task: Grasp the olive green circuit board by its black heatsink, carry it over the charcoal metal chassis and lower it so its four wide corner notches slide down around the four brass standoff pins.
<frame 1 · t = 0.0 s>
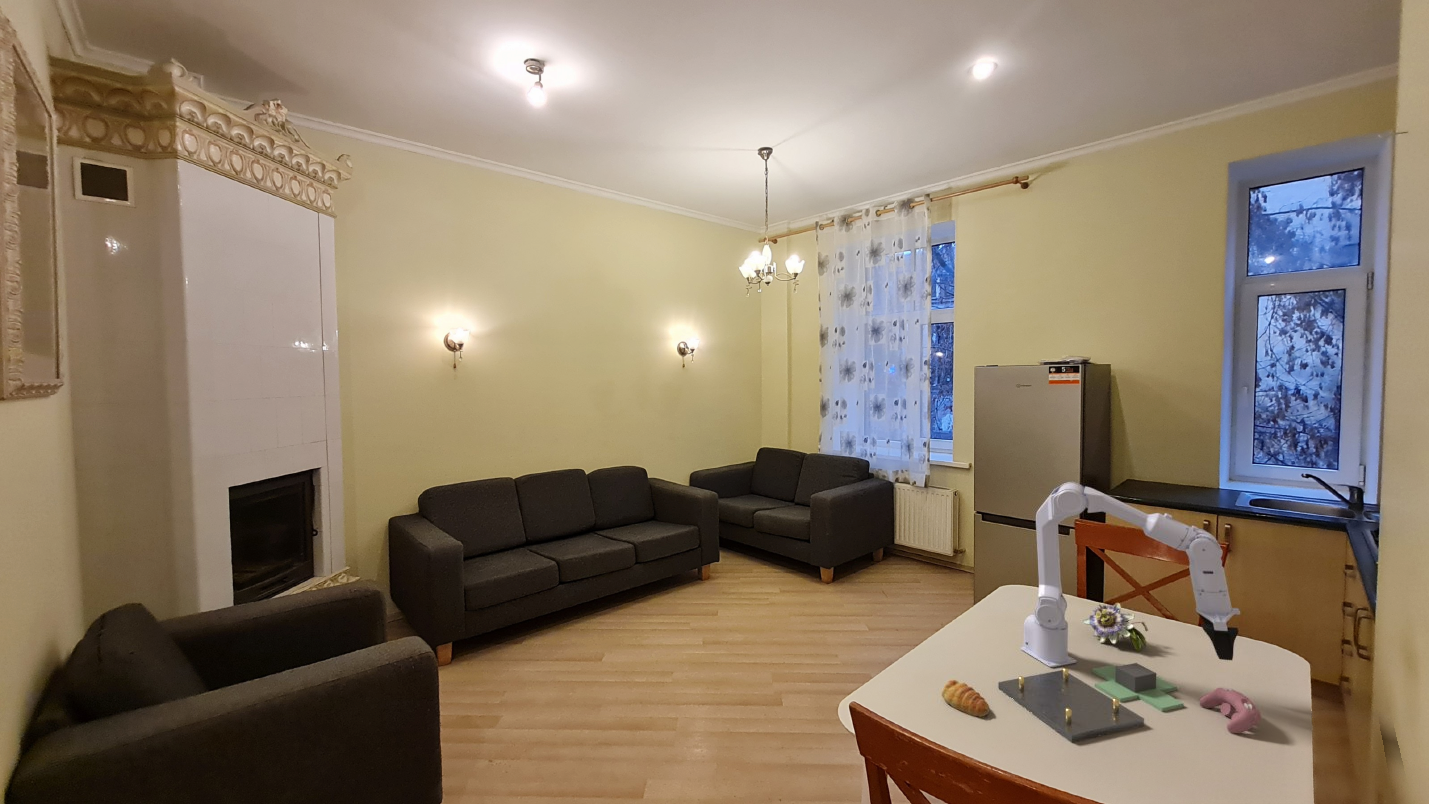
hand: (1222, 651, 119), 11 cm above the table, tool pointing down, fingers open, 7 cm apart
pastry: (964, 705, 120), on the table
chassis: (1066, 706, 118), on the table
passion flower: (1115, 641, 146), on the table
video game controller: (1229, 721, 113), on the table
board: (1135, 688, 124), on the table
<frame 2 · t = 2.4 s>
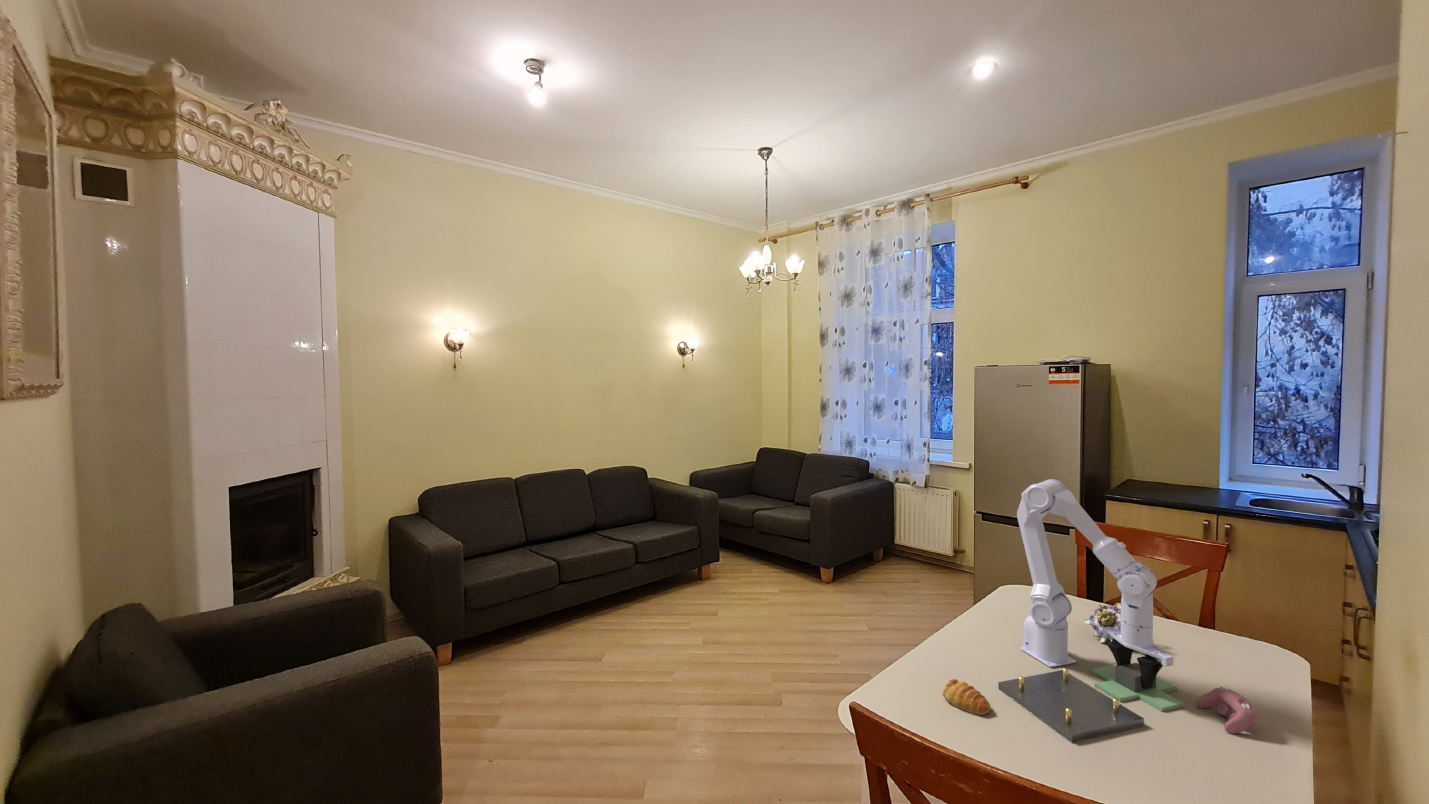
hand: (1135, 681, 124), 2 cm above the table, tool pointing down, fingers closed on board, 4 cm apart
board: (1135, 688, 124), on the table, touching gripper
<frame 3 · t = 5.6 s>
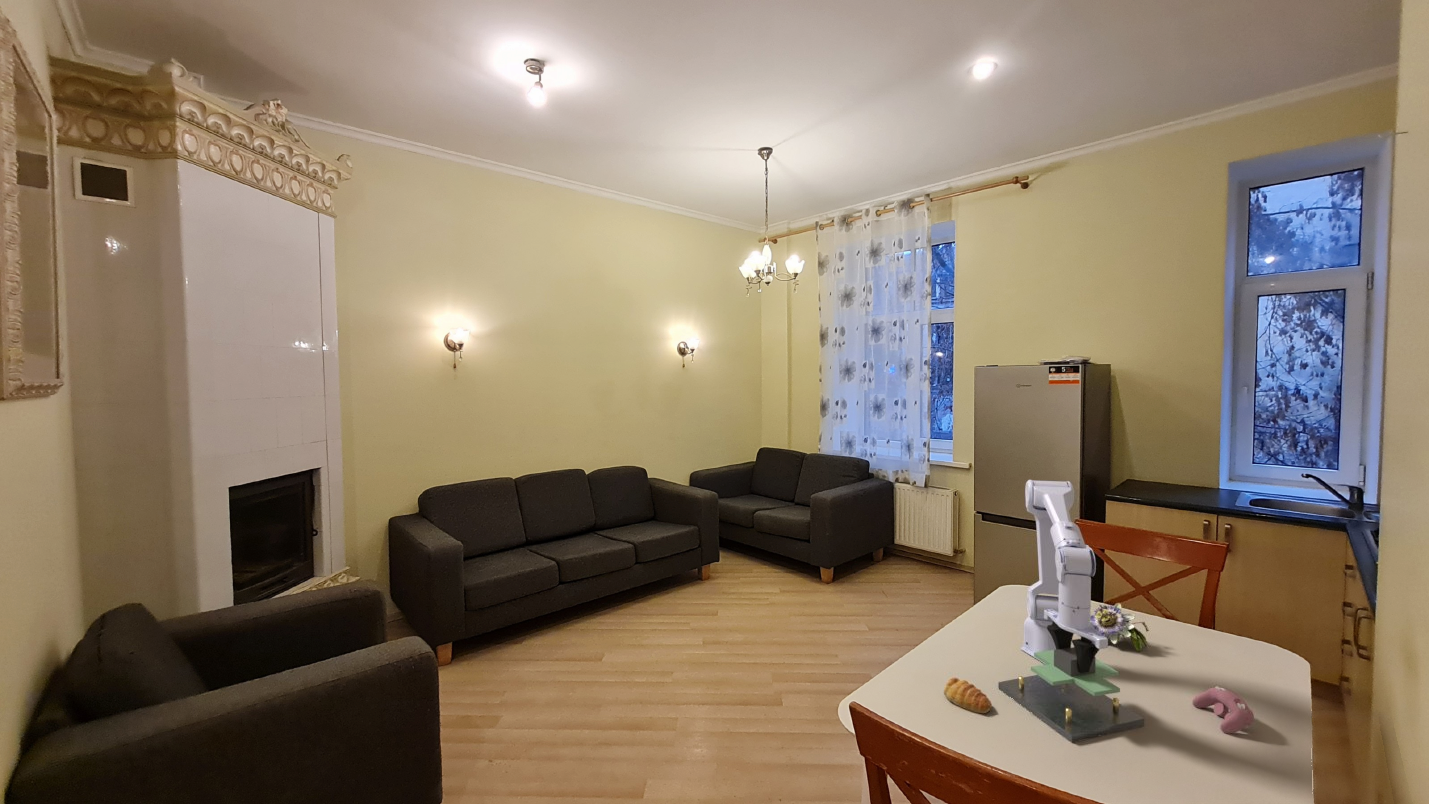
hand: (1073, 665, 118), 9 cm above the table, tool pointing down, fingers closed on board, 4 cm apart
board: (1074, 673, 119), point 7 cm above the table, touching gripper
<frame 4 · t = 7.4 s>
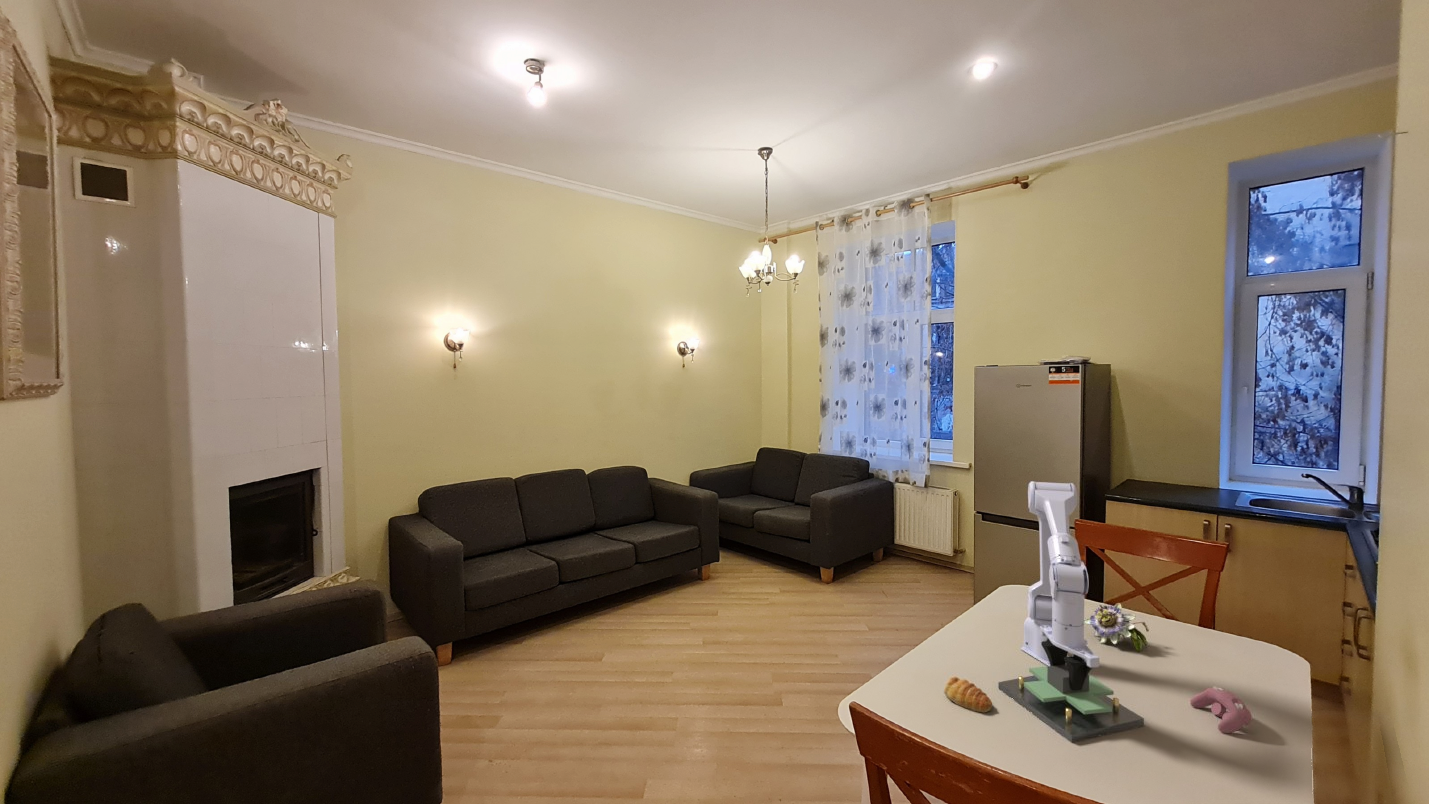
hand: (1067, 682, 118), 5 cm above the table, tool pointing down, fingers closed on board, 4 cm apart
board: (1067, 690, 118), point 3 cm above the table, touching gripper
when the fingers open (4 cm above the table, at t = 9.1 s): board stays where it is, resting on chassis.
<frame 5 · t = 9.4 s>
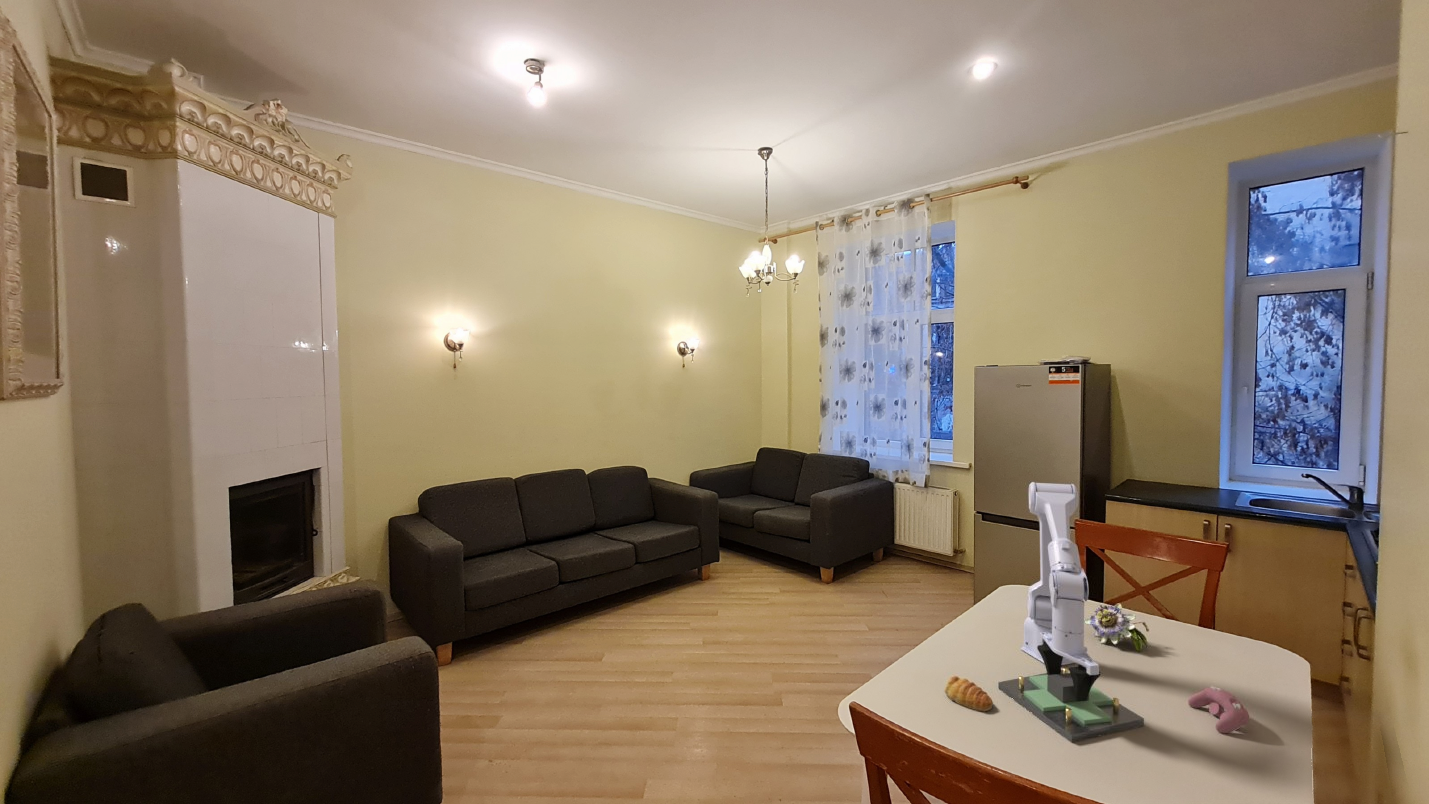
hand: (1067, 689, 118), 4 cm above the table, tool pointing down, fingers open, 7 cm apart
board: (1067, 699, 118), point 1 cm above the table, touching chassis
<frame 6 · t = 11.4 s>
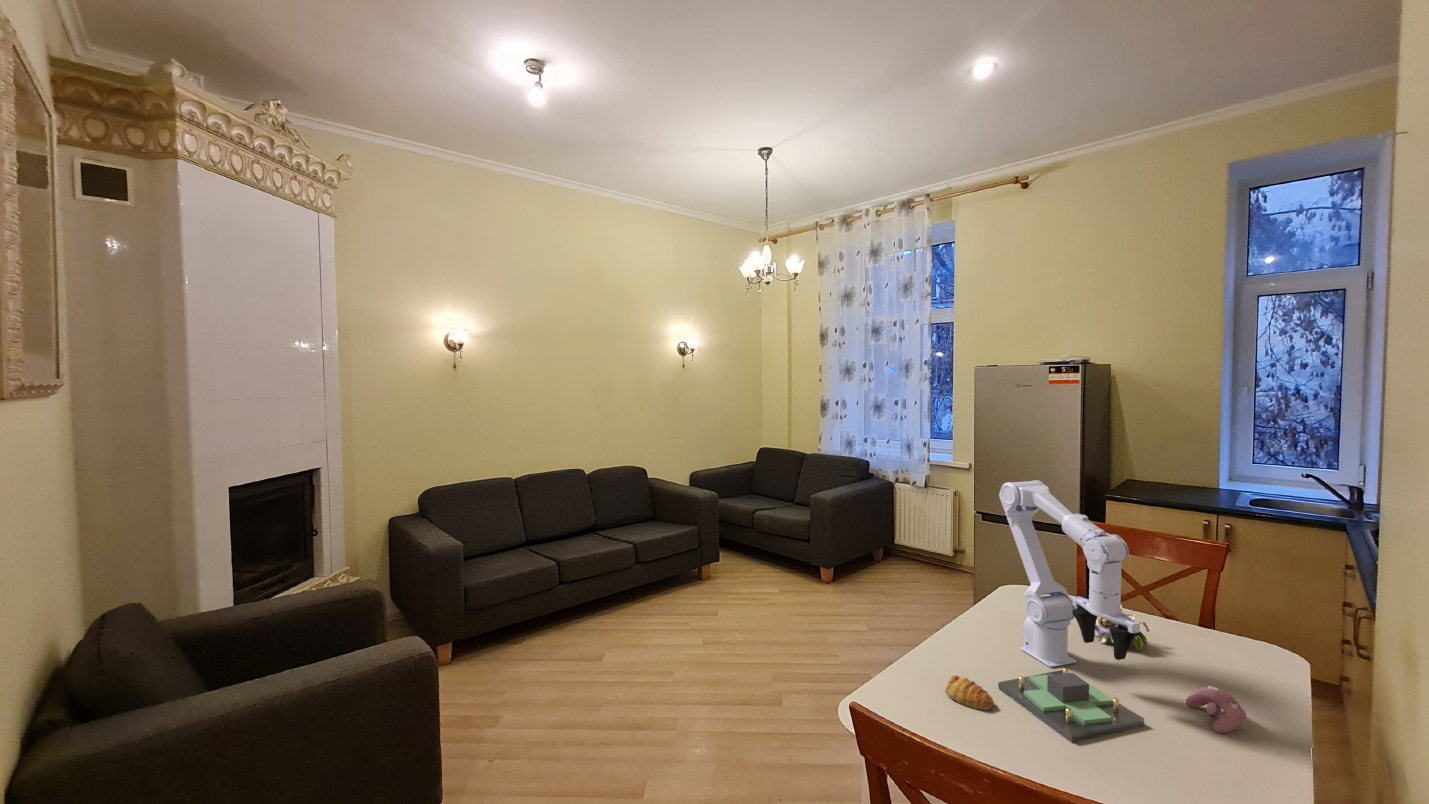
hand: (1103, 650, 123), 9 cm above the table, tool pointing down, fingers open, 7 cm apart
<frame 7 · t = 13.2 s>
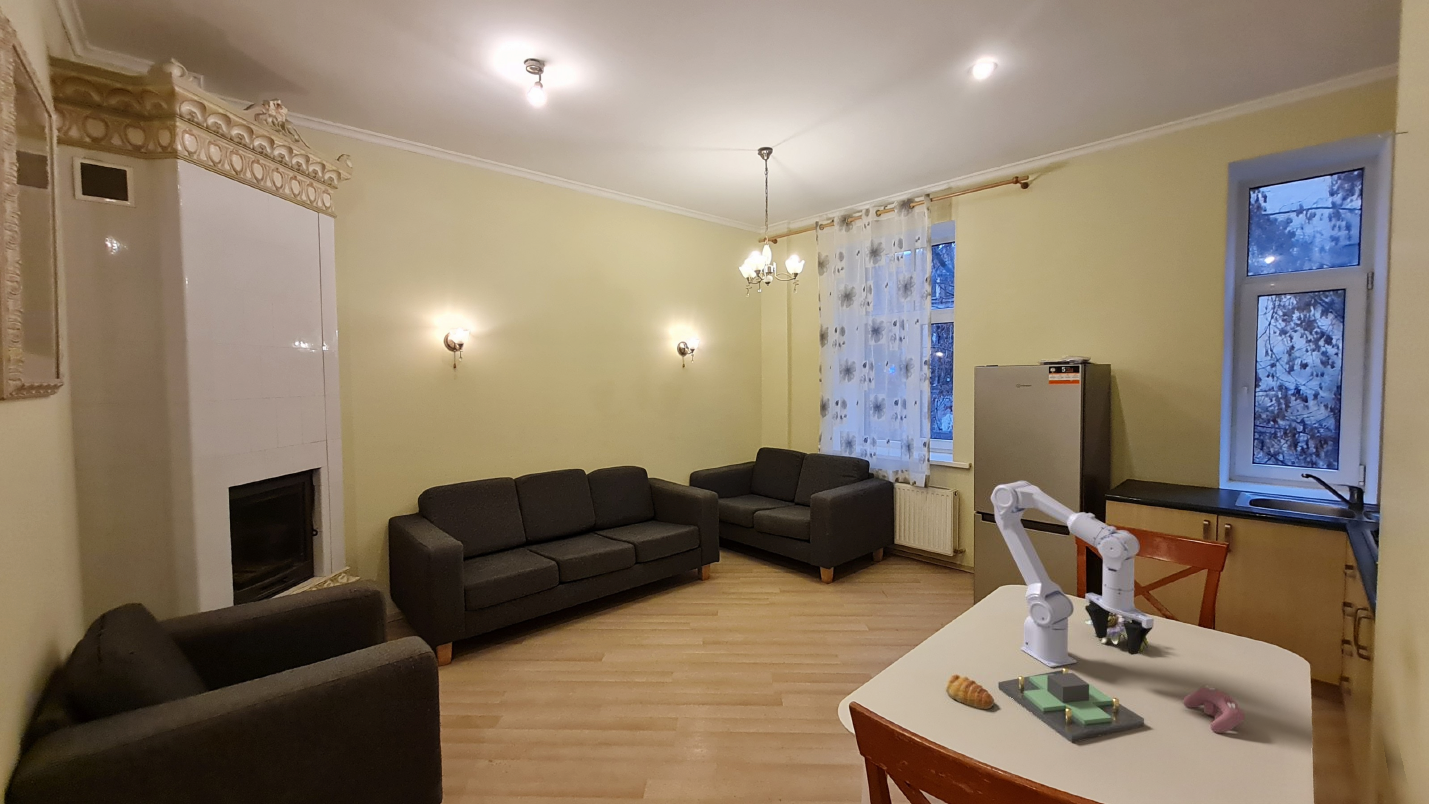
hand: (1117, 645, 125), 9 cm above the table, tool pointing down, fingers open, 7 cm apart
at the end: board 0.2 cm off-centre on the chassis, point 1.5 cm above the chassis's base; board tilted 0°; the gripper is holding nothing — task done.
